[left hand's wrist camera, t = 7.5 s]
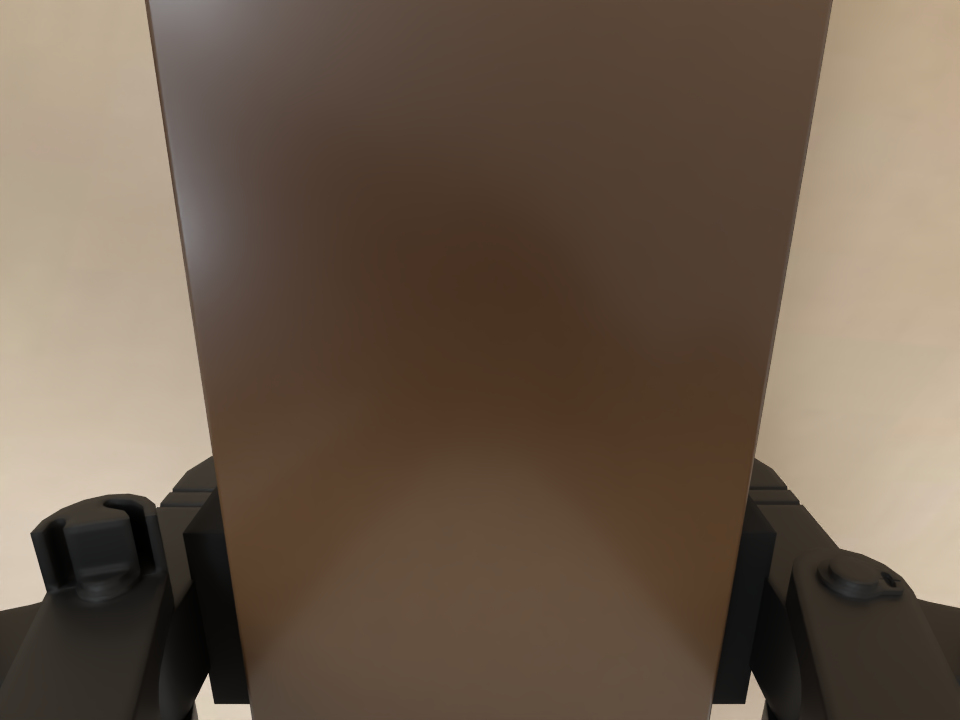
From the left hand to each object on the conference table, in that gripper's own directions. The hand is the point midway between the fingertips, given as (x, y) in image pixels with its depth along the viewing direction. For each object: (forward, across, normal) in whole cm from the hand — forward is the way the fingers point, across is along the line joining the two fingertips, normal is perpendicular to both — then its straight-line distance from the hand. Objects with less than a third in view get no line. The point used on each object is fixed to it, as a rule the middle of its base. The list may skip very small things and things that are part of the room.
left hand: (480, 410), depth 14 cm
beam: (+1, 0, -35) cm, 35 cm away
